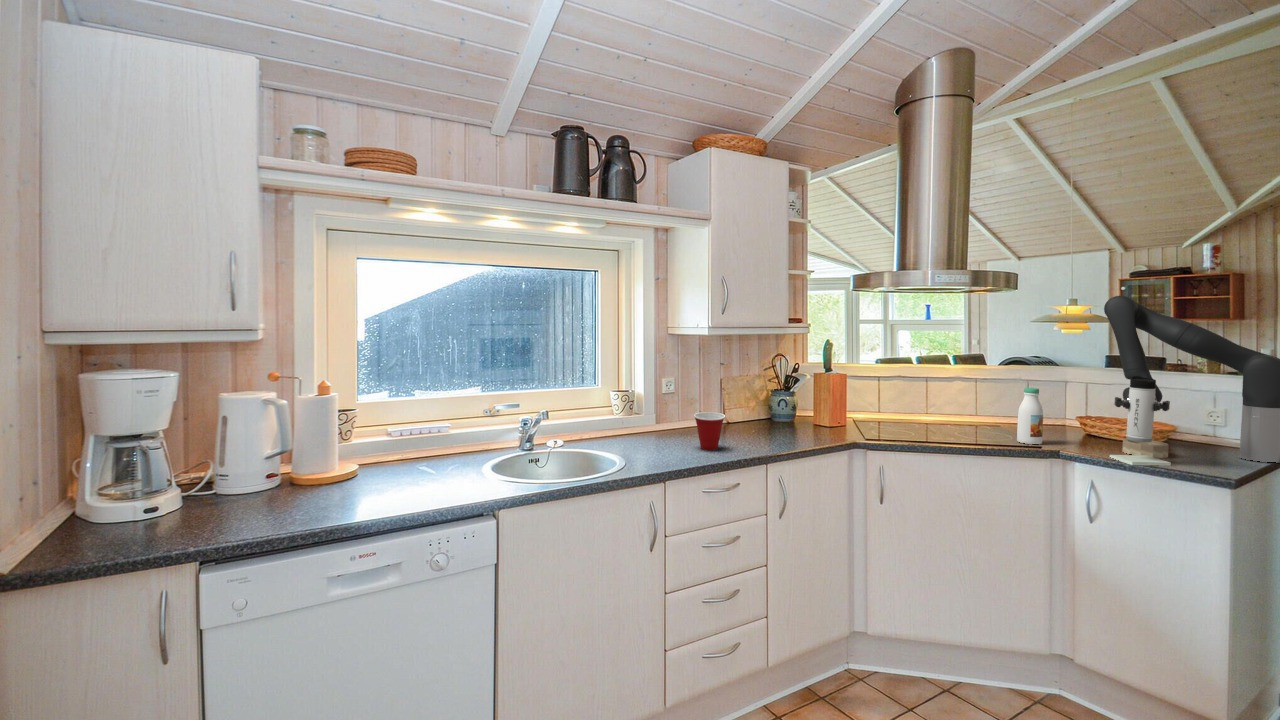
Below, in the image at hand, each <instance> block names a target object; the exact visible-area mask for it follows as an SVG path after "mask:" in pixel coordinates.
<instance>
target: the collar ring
mask: <svg viewBox="0 0 1280 720" xmlns="http://www.w3.org/2000/svg"><path fill="white" fill-rule="evenodd" d="M1169 446H1170V445H1169V444H1168V442H1167V443H1166V442H1163V441H1157V440H1153V439H1152V442H1148V443H1146V442H1135V441H1130V440H1127V439H1126V438H1125V439H1124V438H1123V440H1122V451H1121V452H1122V453H1123V452H1124V453H1123V454H1126V453H1127V454H1126V455H1129V454H1132V455H1146V456H1150V457H1153V458H1157V459H1167V458H1169Z"/></svg>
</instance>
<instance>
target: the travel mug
mask: <svg viewBox="0 0 1280 720" xmlns="http://www.w3.org/2000/svg"><path fill="white" fill-rule="evenodd" d="M1155 385H1157V380H1156V379H1154V378H1153V379H1151V378H1145V377H1140V376H1133V377H1131V378H1130V381H1129V387H1130V389H1129V405H1128V409H1127V420H1126V422H1127V423H1126V435H1125V437H1126V438H1125V439H1127V440H1130V441H1135V442H1146V443H1148V442H1152V440H1153V435H1154V434H1153V433H1154V432H1153V431H1154V420H1155V419H1154V418H1155V411H1154V404H1155V392H1156V391H1155V390H1156V387H1155Z"/></svg>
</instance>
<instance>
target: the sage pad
mask: <svg viewBox="0 0 1280 720" xmlns="http://www.w3.org/2000/svg"><path fill="white" fill-rule="evenodd" d="M1110 457H1111V458H1110ZM1109 458H1110V459H1112V458H1114V459H1113V460H1115V459H1116V460H1115V461H1118V460H1119V461H1118V462H1121V463H1124V464H1128V465H1131V466H1150V465H1159V466H1160V467H1166V466H1167V467H1171V466H1172V465H1171V464H1172V463H1171V462H1170V461H1166V460H1164V459H1163V460H1162V459H1161V458H1153V457H1150V456H1146V455H1129V454H1109Z"/></svg>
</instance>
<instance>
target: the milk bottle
mask: <svg viewBox="0 0 1280 720" xmlns="http://www.w3.org/2000/svg"><path fill="white" fill-rule="evenodd" d="M1023 395H1024V397H1023V399H1022V401H1021V403H1020V405H1019V407H1018V411H1017V429H1016V431H1017V432H1016V441H1018V442H1017V443H1019V442H1020V444H1023V443H1025V445H1032V444H1039V445H1042V444H1043V429H1044V428H1043V427H1044V409H1043V406H1042V404H1041V402H1040V399H1039V395H1040V388H1037V387H1024V388H1023Z"/></svg>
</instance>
